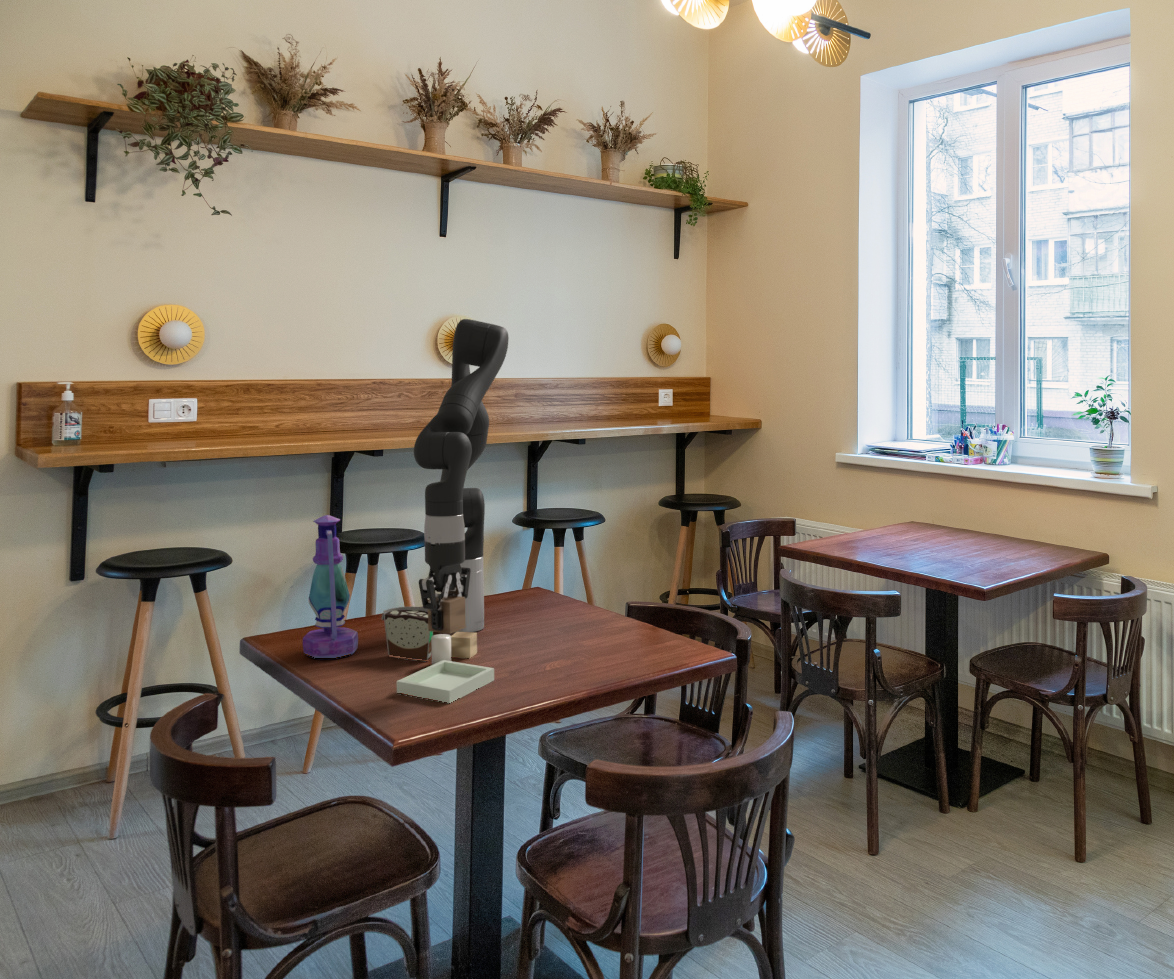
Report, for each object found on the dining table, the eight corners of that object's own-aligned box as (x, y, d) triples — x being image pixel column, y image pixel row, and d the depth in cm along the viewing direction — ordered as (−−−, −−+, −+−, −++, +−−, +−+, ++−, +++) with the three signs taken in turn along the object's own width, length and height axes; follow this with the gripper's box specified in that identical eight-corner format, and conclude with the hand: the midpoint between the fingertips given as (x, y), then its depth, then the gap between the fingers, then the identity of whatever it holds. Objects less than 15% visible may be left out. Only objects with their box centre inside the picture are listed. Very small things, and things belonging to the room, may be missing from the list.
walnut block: (428, 630, 179) (427, 599, 178) (443, 624, 183) (443, 594, 182) (450, 634, 176) (449, 602, 176) (465, 627, 181) (464, 597, 180)
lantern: (363, 658, 199) (359, 517, 196) (306, 665, 195) (301, 521, 191) (353, 642, 211) (349, 509, 208) (299, 648, 207) (294, 512, 203)
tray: (396, 693, 177) (396, 681, 177) (443, 671, 190) (443, 660, 190) (449, 703, 172) (449, 690, 171) (494, 680, 185) (494, 668, 185)
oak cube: (450, 657, 200) (449, 637, 200) (457, 651, 205) (457, 631, 204) (470, 659, 199) (470, 638, 199) (477, 653, 204) (476, 632, 203)
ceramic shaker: (427, 666, 194) (427, 637, 193) (439, 661, 198) (438, 633, 197) (444, 669, 192) (443, 640, 191) (455, 663, 196) (454, 635, 195)
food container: (447, 654, 202) (447, 608, 201) (434, 662, 197) (433, 615, 195) (397, 648, 206) (396, 604, 205) (382, 656, 201) (381, 610, 199)
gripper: (450, 531, 186) (451, 615, 188) (404, 542, 173) (407, 633, 175) (482, 533, 182) (483, 620, 184) (438, 545, 170) (440, 637, 172)
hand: (446, 625), depth 180 cm, fingers closed on walnut block, 5 cm apart
